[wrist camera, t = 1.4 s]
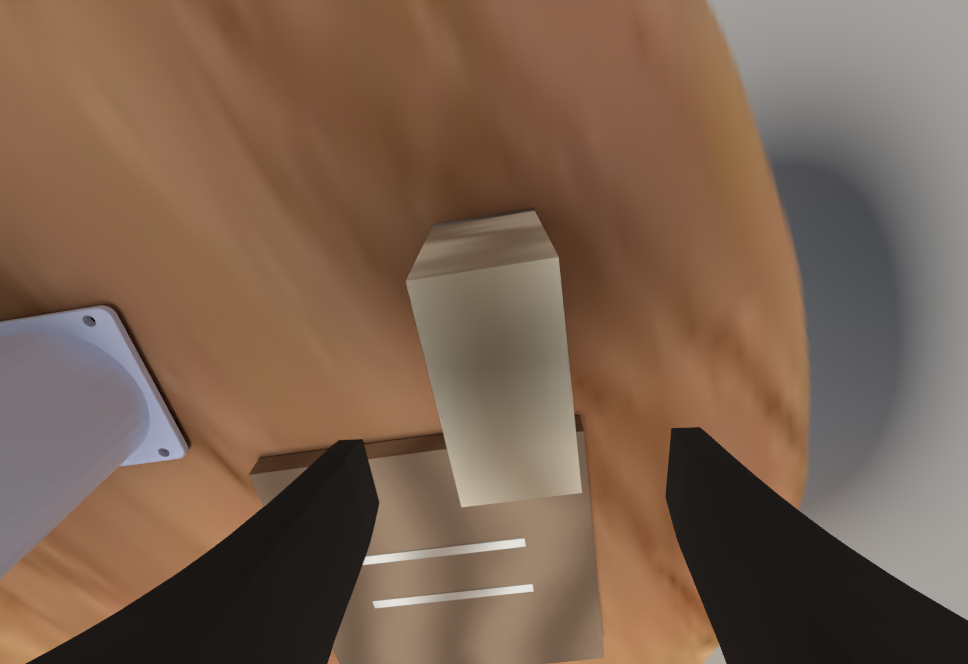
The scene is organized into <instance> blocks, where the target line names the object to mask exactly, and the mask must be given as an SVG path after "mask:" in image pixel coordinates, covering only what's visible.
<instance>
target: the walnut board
mask: <svg viewBox="0 0 968 664" xmlns="http://www.w3.org/2000/svg"><path fill="white" fill-rule="evenodd" d="M574 417H575V428H576V438H577V448H578V458H579V468H580V478H581V488H582V493H577V494H569V495H561V496H552V497H544V498H536V499H527V500H519V501H511V502H502V503H494V504H486V505H477V506H469V507H461V504H460V500H459V495H458V491H457V487H456V483H455V479H454V475H453V471H452V467H451V463H450V459H449V455H448V451H447V447H446V443H445V439H444V435H443V434H438V435H430V436H423V437H415V438H408V439H400V440H392V441H385V442H377V443H370V444H364V446H365V449H366V453H367V457H368V461H369V465H370V468H371V472H372V476H373V480H374V484H375V487H376V491H377V495H378V499H379V502H380V503H379V508H378V512H377V517H376V521H375V526H374V530H373V534H372V538H371V542H370V545H369V548H368V551H367V554H366V557H365V560H364V562H363V565H362V568H361V571H360V574H359V576H358V579H357V582H356V584H355V587H354V590H353V593H352V595H351V598H350V601H349V603H348V606H347V609H346V611H345V614H344V617H343V620H342V622H341V625H340V628H339V630H338V633H337V636H336V639H335V641H334V644H333V648H332V649H333V651H334V653H335V655H336V657H337V659H338V661H339V663H340V664H546V663H556V662H566V661H577V660H587V659H598V658H604V649H603V638H602V627H601V615H600V604H599V593H598V582H597V571H596V560H595V549H594V538H593V527H592V516H591V505H590V493H589V482H588V471H587V460H586V449H585V438H584V430H583V427H582V424H581V420H580V417H579V416H574ZM327 450H328V449H325V450H317V451H310V452H302V453H295V454H287V455H280V456H272V457H265V458H259V460H258V461H257V463H256V464H255V466H254V467H253V469H252V470H251V472H250V473H249V477H250V479H251V481H252V483H253V485H254V487H255V490H256V492H257V494H258V496H259V498H260V500H261V502H262V504H263V506H265V505H267V504H268V503H269V502H270V501H271V500H273V499H274V498H275V497H276V496H277V495H278V494H279V493H280V492H281V491H283V490H284V489H285V488H286V487H287V486H288V485H289V484H290V483H292V482H293V481H294V480H295V479H296V478H297V477H298V476H299V475H300V474H302V473H303V472H304V471H305V470H306V469H307V468H308V467H309V466H310V465H311V464H312V463H314V462H315V461H316V460H317V459H318V458H319V457H320V456H321V455H322V454H323V453H325V452H326V451H327Z"/></svg>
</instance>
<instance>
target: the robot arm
mask: <svg viewBox="0 0 968 664" xmlns="http://www.w3.org/2000/svg"><path fill="white" fill-rule="evenodd" d="M90 316H91V317H93V318H94V320H95V322H96V323H95V322H94V321H92V320H91V318H90ZM165 449H166V450H165ZM167 450H168V451H167ZM187 452H188V445H187V444H186V442H185V440H184V438H183V436H182V434H181V432H180V430H179V429H178V427H177V425H176V423H175V421H174V419H173V417H172V416H171V414H170V412H169V410H168V408H167V406H166V404H165V402H164V401H163V399H162V397H161V395H160V393H159V391H158V389H157V388H156V386H155V384H154V382H153V380H152V378H151V376H150V375H149V373H148V371H147V369H146V367H145V365H144V363H143V361H142V360H141V358H140V356H139V354H138V352H137V350H136V348H135V347H134V345H133V343H132V341H131V339H130V337H129V335H128V334H127V332H126V330H125V328H124V326H123V324H122V322H121V320H120V319H119V317H118V315H117V313H116V312H115V311H114V310H113V309H112V308H110V307H108V306H103V305H100V306H94V307H88V308H81V309H75V310H69V311H63V312H57V313H50V314H44V315H38V316H32V317H26V318H19V319H13V320H7V321H1V322H0V580H1V579H2V578H3V577H4V576H5V575H6V574H7V573H8V572H9V571H10V570H11V569H12V568H13V567H14V566H15V565H16V564H17V563H18V562H19V561H20V560H21V559H23V558H24V557H25V556H26V555H27V554H28V553H29V552H30V551H31V550H32V549H33V548H34V547H35V546H36V545H37V544H38V543H39V542H40V541H41V540H42V539H43V538H45V537H46V536H47V535H48V534H49V533H50V532H51V531H52V530H53V529H54V528H55V527H56V526H57V525H58V524H59V523H60V522H61V521H62V520H63V519H64V518H65V517H67V516H68V515H69V514H70V513H71V512H72V511H73V510H74V509H75V508H76V507H77V506H78V505H79V504H80V503H81V502H82V501H83V500H84V499H85V498H86V497H87V496H88V495H90V494H91V493H92V492H93V491H94V490H95V489H96V488H97V487H98V486H99V485H100V484H101V483H102V482H103V481H104V480H105V479H106V478H107V477H108V476H109V475H110V474H112V473H113V472H114V471H115V470H116V469H117V468H118V467H121V466H128V465H136V464H143V463H150V462H158V461H165V460H173V459H179V458H182V457H183V456H184V455H185V454H186V453H187ZM666 500H667V504H668V508H669V512H670V516H671V519H672V523H673V526H674V530H675V533H676V537H677V540H678V543H679V546H680V548H681V551H682V553H683V556H684V558H685V561H686V563H687V566H688V568H689V571H690V573H691V576H692V578H693V581H694V583H695V585H696V588H697V590H698V593H699V595H700V598H701V600H702V603H703V605H704V608H705V610H706V612H707V615H708V617H709V620H710V622H711V625H712V627H713V630H714V632H715V634H716V637H717V639H718V642H719V644H720V647H721V650H722V652H723V655H724V658H725V661H726V663H727V664H968V620H966V619H964V618H962V617H961V616H959V615H957V614H955V613H954V612H952V611H950V610H948V609H947V608H945V607H944V606H942V605H940V604H938V603H937V602H935V601H933V600H932V599H930V598H928V597H927V596H925V595H923V594H921V593H920V592H918V591H916V590H915V589H913V588H911V587H910V586H908V585H906V584H905V583H903V582H902V581H900V580H898V579H897V578H895V577H894V576H892V575H890V574H889V573H887V572H886V571H884V570H883V569H881V568H880V567H878V566H877V565H875V564H874V563H872V562H871V561H869V560H868V559H866V558H865V557H863V556H862V555H860V554H858V553H857V552H856V551H854V550H852V549H851V548H849V547H848V546H846V545H845V544H844V543H842V542H841V541H839V540H838V539H837V538H835V537H834V536H832V535H831V534H829V533H828V532H827V531H825V530H824V529H822V528H821V527H820V526H819V525H817V524H816V523H814V522H813V521H812V520H810V519H809V518H808V517H807V516H805V515H804V514H802V513H801V512H800V511H799V510H797V509H796V508H795V507H793V506H792V505H791V504H790V503H788V502H787V501H786V500H784V499H783V498H782V497H781V496H779V495H778V494H777V493H776V492H774V491H773V490H772V489H771V488H770V487H768V486H767V485H766V484H765V483H764V482H762V481H761V480H760V479H759V478H757V477H756V476H755V475H754V474H753V473H752V472H750V471H749V470H748V469H747V468H746V467H745V466H743V465H742V464H741V463H740V462H739V461H738V460H737V459H735V458H734V457H733V456H732V455H731V454H730V453H729V452H727V451H726V450H725V449H724V448H723V447H722V446H721V445H720V444H718V443H717V442H716V441H715V440H714V439H713V438H712V437H711V436H709V435H708V434H707V433H706V432H705V431H704V430H702V429H701V428H700V427H694V428H672V429H671V440H670V452H669V463H668V475H667V486H666ZM379 503H380V502H379V499H378V495H377V491H376V487H375V484H374V480H373V476H372V472H371V468H370V465H369V461H368V457H367V453H366V449H365V446H364V442H363V439H360V440H339V441H337V442H336V443H335V444H334V445H333V446H331V447H330V448H329V449H328V450H327V451H326V452H325V453H323V454H322V455H321V456H320V457H319V458H318V459H317V460H316V461H315V462H314V463H312V464H311V465H310V466H309V467H308V468H307V469H306V470H305V471H304V472H303V473H302V474H300V475H299V476H298V477H297V478H296V479H295V480H294V481H293V482H292V483H290V484H289V485H288V486H287V487H286V488H285V489H284V490H283V491H281V492H280V493H279V494H278V495H277V496H276V497H275V498H274V499H273V500H271V501H270V502H269V503H268V504H267V505H265V506H264V507H263V508H262V509H261V510H259V511H258V512H257V513H256V514H255V515H253V516H252V517H251V518H250V519H249V520H247V521H246V522H245V523H244V524H243V525H241V526H240V527H239V528H238V529H236V530H235V531H234V532H233V533H232V534H230V535H229V536H228V537H227V538H225V539H224V540H223V541H221V542H220V543H219V544H217V545H216V546H215V547H213V548H212V549H211V550H209V551H208V552H207V553H205V554H204V555H203V556H201V557H200V558H198V559H197V560H196V561H194V562H193V563H191V564H190V565H189V566H187V567H186V568H184V569H183V570H182V571H180V572H179V573H177V574H176V575H174V576H173V577H171V578H170V579H168V580H167V581H165V582H164V583H162V584H161V585H159V586H157V587H156V588H154V589H153V590H151V591H150V592H148V593H147V594H145V595H143V596H142V597H140V598H139V599H137V600H136V601H134V602H133V603H131V604H129V605H128V606H126V607H125V608H123V609H122V610H120V611H118V612H117V613H115V614H113V615H112V616H110V617H108V618H107V619H105V620H103V621H102V622H100V623H98V624H96V625H95V626H93V627H91V628H90V629H88V630H86V631H84V632H83V633H81V634H79V635H77V636H76V637H74V638H72V639H70V640H68V641H67V642H65V643H63V644H61V645H59V646H58V647H56V648H54V649H52V650H50V651H49V652H47V653H45V654H43V655H41V656H39V657H37V658H36V659H34V660H32V661H30V662H28V663H26V664H327V663H328V660H329V657H330V654H331V651H332V648H333V644H334V641H335V639H336V636H337V633H338V630H339V628H340V625H341V622H342V620H343V617H344V614H345V611H346V609H347V606H348V603H349V601H350V598H351V595H352V593H353V590H354V587H355V584H356V582H357V579H358V576H359V574H360V571H361V568H362V565H363V562H364V560H365V557H366V554H367V551H368V548H369V545H370V542H371V538H372V534H373V530H374V526H375V521H376V517H377V512H378V508H379Z"/></svg>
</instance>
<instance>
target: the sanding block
mask: <svg viewBox="0 0 968 664" xmlns="http://www.w3.org/2000/svg"><path fill="white" fill-rule="evenodd" d="M406 284H407V288H408V293H409V297H410V301H411V305H412V309H413V313H414V317H415V321H416V325H417V329H418V333H419V337H420V341H421V345H422V349H423V353H424V357H425V362H426V366H427V370H428V374H429V378H430V382H431V386H432V390H433V394H434V398H435V402H436V406H437V410H438V414H439V418H440V422H441V426H442V431H443V435H444V439H445V443H446V447H447V451H448V455H449V459H450V463H451V467H452V471H453V475H454V479H455V483H456V487H457V491H458V495H459V500H460V504H461V507H469V506H477V505H486V504H494V503H502V502H511V501H519V500H527V499H536V498H544V497H552V496H561V495H569V494H577V493H582V488H581V478H580V468H579V458H578V448H577V438H576V428H575V417H574V407H573V397H572V387H571V377H570V367H569V357H568V347H567V337H566V326H565V316H564V306H563V296H562V286H561V276H560V266H559V257H558V255H557V253H556V251H555V249H554V247H553V245H552V243H551V241H550V239H549V237H548V235H547V234H546V232H545V230H544V228H543V226H542V224H541V222H540V220H539V218H538V216H537V214H536V212H535V210H534V208H531V209H525V210H519V211H513V212H507V213H501V214H495V215H489V216H483V217H477V218H471V219H465V220H459V221H452V222H446V223H440V224H434V225H433V226H432V228H431V230H430V232H429V234H428V236H427V238H426V240H425V242H424V244H423V247H422V249H421V251H420V253H419V255H418V257H417V259H416V261H415V263H414V265H413V267H412V269H411V271H410V273H409V275H408V277H407V279H406Z"/></svg>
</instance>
